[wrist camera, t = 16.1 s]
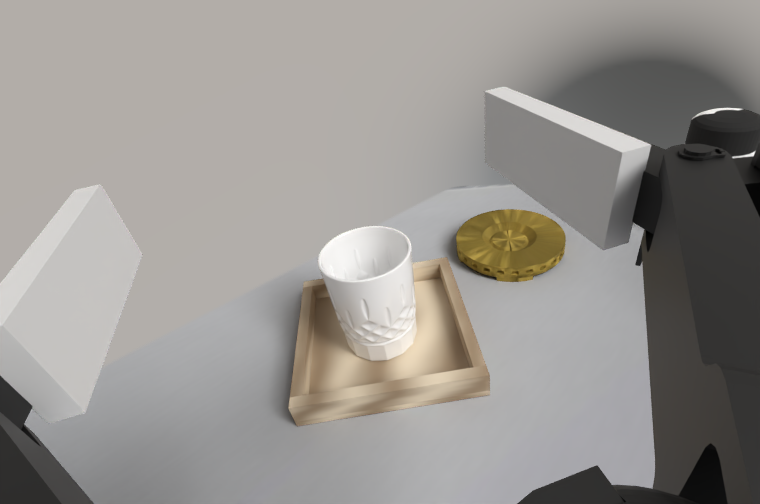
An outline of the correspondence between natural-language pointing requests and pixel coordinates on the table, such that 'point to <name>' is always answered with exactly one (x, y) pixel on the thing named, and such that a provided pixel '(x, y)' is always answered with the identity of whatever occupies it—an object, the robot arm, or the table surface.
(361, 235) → the white cup
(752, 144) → the medicine bottle
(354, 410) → the tray
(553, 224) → the gold notched disc
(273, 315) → the table surface
